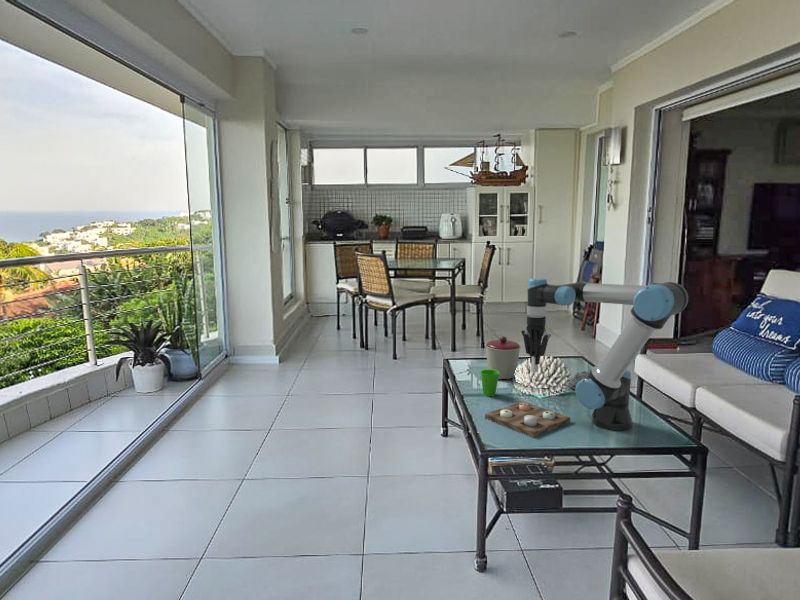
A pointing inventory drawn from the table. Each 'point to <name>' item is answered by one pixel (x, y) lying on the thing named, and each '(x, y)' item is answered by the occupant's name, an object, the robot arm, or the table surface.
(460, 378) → the table surface
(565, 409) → the table surface
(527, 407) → the button three
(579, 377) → the mineral rock
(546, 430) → the panel
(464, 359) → the table surface
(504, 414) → the button one
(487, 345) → the canister
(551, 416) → the button two
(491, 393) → the cup
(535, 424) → the button blank
